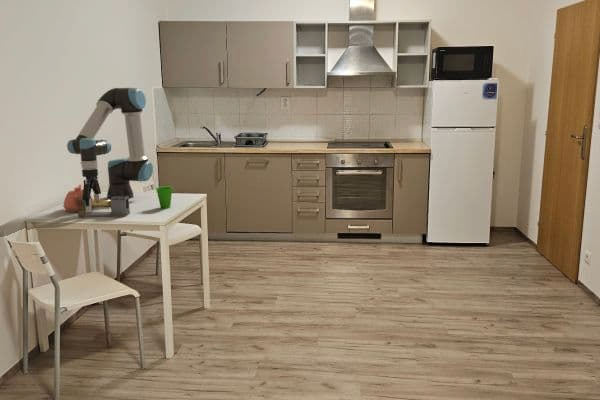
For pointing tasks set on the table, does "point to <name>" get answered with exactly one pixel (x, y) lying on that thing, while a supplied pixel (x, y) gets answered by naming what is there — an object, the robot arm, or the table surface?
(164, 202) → the cup
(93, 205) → the tube
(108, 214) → the base board
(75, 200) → the teapot
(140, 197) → the table surface
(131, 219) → the table surface
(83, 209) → the socket
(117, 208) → the sleeve
